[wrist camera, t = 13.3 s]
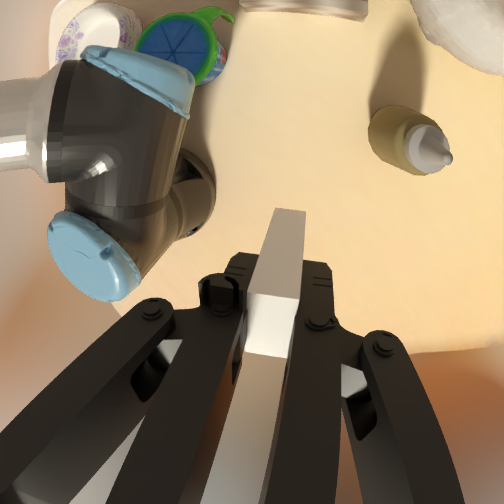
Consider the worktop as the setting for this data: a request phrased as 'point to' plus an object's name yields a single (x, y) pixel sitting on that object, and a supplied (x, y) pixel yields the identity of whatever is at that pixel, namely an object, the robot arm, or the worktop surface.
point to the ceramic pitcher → (466, 30)
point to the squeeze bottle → (409, 140)
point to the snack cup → (187, 42)
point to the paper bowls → (99, 30)
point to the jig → (311, 7)
